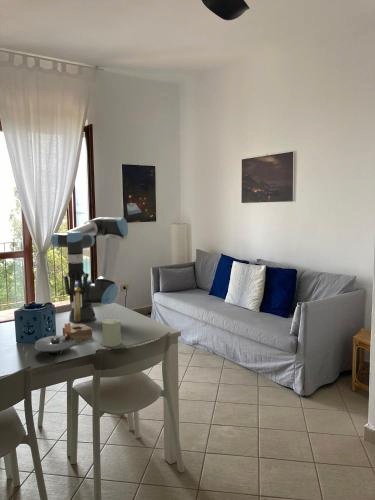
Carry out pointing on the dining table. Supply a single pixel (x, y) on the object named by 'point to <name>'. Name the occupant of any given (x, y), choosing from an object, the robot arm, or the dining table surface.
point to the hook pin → (77, 304)
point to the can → (111, 332)
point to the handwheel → (56, 341)
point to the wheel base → (55, 352)
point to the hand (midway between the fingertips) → (77, 307)
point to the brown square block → (80, 332)
